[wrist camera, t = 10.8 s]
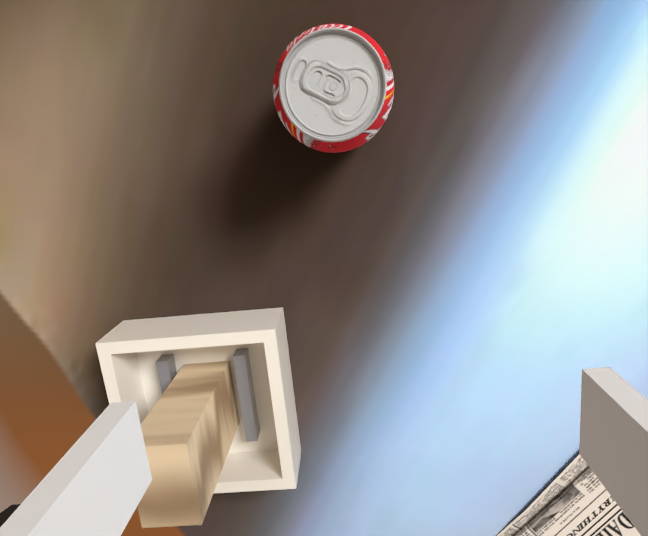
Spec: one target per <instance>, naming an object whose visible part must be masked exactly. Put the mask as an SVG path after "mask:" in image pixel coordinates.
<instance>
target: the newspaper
mask: <svg viewBox="0 0 648 536" xmlns="http://www.w3.org/2000/svg"><path fill="white" fill-rule="evenodd" d="M497 536H641V535H640V533H639V532H638V531H637V529H636V528H635V527H634V525H633V524H632V523H631V521H630V520H629V519H628V517H627V516H626V515H625V513H624V512H623V511H622V509H621V508H620V507H619V505H618V504H617V503H616V501H615V500H614V499H613V498H612V496H611V495H610V494H609V492H608V491H607V490H606V488H605V487H604V486H603V484H602V483H601V482H600V480H599V479H598V478H597V476H596V475H595V474H594V472H593V471H592V470H591V468H590V467H589V466H588V464H587V463H586V462H585V460H584V459H583V458H582V456H581V455H580V454H579V455H578V456H577V457H576V458H575V459H574V460H573V461H572V462H571V463H570V464H569V465H568V466H567V467H566V469H565V470H564V471H563V472H562V473H561V474H560V475H559V476H558V477H557V478H556V479H555V480H554V481H553V482H552V483H551V484H550V485H549V486H548V487H547V488H546V489H545V490H544V491H543V492H542V494H541V495H540V496H539V497H538V498H537V499H536V500H535V501H534V502H533V503H532V504H531V505H530V506H529V507H528V508H527V509H526V510H525V511H524V512H523V513H522V514H521V515H519V516H518V517H517V518H516V519H515V520H514V521H513V522H512V523H510V524H509V525H508V526H507V527H506V528H505V529H504V530H502V531H501V532H500V533H499V534H498V535H497Z"/></svg>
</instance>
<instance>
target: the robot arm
mask: <svg viewBox="0 0 648 536" xmlns="http://www.w3.org/2000/svg"><path fill="white" fill-rule="evenodd" d="M579 454H580V455H581V456H582V458H583V459H584V460H585V462H586V463H587V464H588V466H589V467H590V468H591V470H592V471H593V472H594V474H595V475H596V476H597V478H598V479H599V480H600V482H601V483H602V484H603V486H604V487H605V488H606V490H607V491H608V492H609V494H610V495H611V496H612V498H613V499H614V500H615V501H616V503H617V504H618V505H619V507H620V508H621V509H622V511H623V512H624V513H625V515H626V516H627V517H628V519H629V520H630V521H631V523H632V524H633V525H634V527H635V528H636V529H637V531H638V532H639V533H640V535H641V536H648V399H646V398H645V397H644V396H643V395H642V394H641V393H639V392H638V391H637V390H636V389H635V388H634V387H632V386H631V385H630V384H629V383H628V382H627V381H625V380H624V379H623V378H622V377H621V376H619V375H618V374H617V373H616V372H615V371H614V370H612V369H611V368H610V367H606V368H592V369H582V389H581V421H580V452H579ZM151 481H152V476H151V471H150V466H149V462H148V457H147V452H146V448H145V443H144V438H143V434H142V429H141V424H140V420H139V415H138V410H137V406H136V401H129V402H115V403H110V404H109V406H108V407H107V408H106V409H105V410H104V411H103V412H102V413H101V415H100V416H99V417H98V418H97V419H96V420H95V421H94V423H93V424H92V425H91V426H90V427H89V428H88V429H87V431H86V432H85V433H84V434H83V435H82V436H81V437H80V438H79V439H78V440H77V442H76V443H75V444H74V445H73V446H72V447H71V448H70V449H69V451H68V452H67V453H66V454H65V455H64V456H63V458H62V459H61V460H60V461H59V462H58V463H57V464H56V465H55V467H54V468H53V469H52V470H51V471H50V472H49V473H48V474H47V475H46V477H45V478H44V479H43V480H42V481H41V482H40V483H39V484H38V486H37V487H36V488H35V489H34V490H33V491H32V492H31V493H30V495H29V496H28V497H27V498H26V499H25V500H24V501H23V502H22V504H18V505H11V506H10V507H8V508H7V509H5V510H4V511H3V512H1V513H0V536H121V534H122V532H123V531H124V529H125V527H126V525H127V523H128V522H129V520H130V518H131V516H132V515H133V513H134V511H135V509H136V508H137V506H138V504H139V502H140V500H141V499H142V497H143V495H144V493H145V492H146V490H147V488H148V486H149V485H150V483H151Z"/></svg>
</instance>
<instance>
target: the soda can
mask: <svg viewBox="0 0 648 536" xmlns="http://www.w3.org/2000/svg"><path fill="white" fill-rule="evenodd" d="M393 97H394V78H393V73H392V68H391V66H390V63H389V60H388V58H387V56H386V55H385V53H384V51H383V50H382V48H381V47H380V46H379V45H378V43H377V42H376V41H375V40H374V39H372V38H371V37H370V36H369V35H368V34H366V33H364V32H363V31H361V30H359V29H357V28H354V27H352V26H348V25H343V24H324V25H320V26H316V27H313V28H311V29H309V30H307V31H305V32H303V33H302V34H300V35H299V36H298V37H296V38H295V39H294V40H293V41H292V42H291V43H290V44H289V45H288V46H287V48H286V49H285V51H284V52H283V53H282V55H281V57H280V59H279V61H278V64H277V67H276V70H275V73H274V79H273V98H274V104H275V107H276V111H277V113H278V115H279V118H280V120H281V122H282V123H283V125H284V126H285V128H286V129H287V130H288V131H289V132H290V134H291V135H292V136H293V137H295V138H296V139H297V140H298V141H299V142H301V143H303V144H304V145H306V146H308V147H310V148H312V149H315V150H318V151H322V152H329V153H338V152H345V151H349V150H353V149H355V148H357V147H359V146H361V145H363V144H364V143H366V142H367V141H369V140H370V139H371V138H372V137H373V136H374V135H375V134H376V133H377V132H378V131H379V129H380V128H381V127H382V125H383V124H384V122H385V120H386V119H387V117H388V114H389V112H390V109H391V106H392V102H393Z"/></svg>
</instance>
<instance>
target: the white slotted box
mask: <svg viewBox="0 0 648 536" xmlns="http://www.w3.org/2000/svg"><path fill="white" fill-rule="evenodd" d="M95 344H96V348H97V353H98V357H99V362H100V366H101V370H102V375H103V379H104V384H105V388H106V392H107V397H108V401H109V404H110V403H115V402H129V401H136V406H137V410H138V415H139V420H140V424H141V423H142V422H143V421H144V419H145V418H146V416H147V415H148V414H149V412H150V411H151V409H152V408H153V407H154V405H155V404H156V402H157V401H158V400H159V398H160V397H161V395H162V394H163V393H164V391H165V390H166V388H167V387H168V386H169V384H170V383H171V382H172V380H173V379H174V377H175V376H176V375H177V373H178V372H179V370H180V369H181V368H182V366H183V365H184V364H192V363H206V362H219V361H230V367H231V373H232V379H233V386H234V392H235V398H236V405H237V411H238V417H239V425H238V428H237V431H236V433H235V436H234V439H233V442H232V444H231V447H230V450H229V452H228V455H227V458H226V460H225V463H224V466H223V469H222V471H221V474H220V477H219V479H218V482H217V485H216V487H215V490H214V493H228V492H246V491H263V490H280V489H296V486H297V479H298V471H299V464H300V457H301V446H300V438H299V430H298V422H297V414H296V406H295V398H294V390H293V382H292V374H291V366H290V358H289V350H288V342H287V334H286V327H285V319H284V311H283V307H282V308H270V309H258V310H246V311H234V312H221V313H209V314H197V315H185V316H173V317H160V318H148V319H136V320H124V321H122V322H121V323H120V324H118V325H117V326H116V327H115V328H114V329H112V330H111V331H110V332H109V333H107V334H106V335H105V336H104V337H103V338H101V339H100V340H99V341H98V342H96V343H95Z"/></svg>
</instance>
